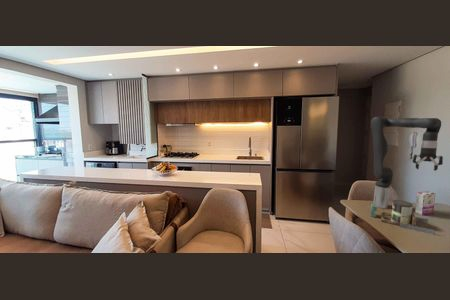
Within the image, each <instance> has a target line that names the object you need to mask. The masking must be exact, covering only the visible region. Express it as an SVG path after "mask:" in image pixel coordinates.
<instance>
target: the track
mask: <svg viewBox="0 0 450 300" xmlns="http://www.w3.org/2000/svg"><path fill="white" fill-rule="evenodd" d="M415 217H416V222H417V221H418V222H421V223H428V222H429V221H428V220H429V219H428V218H424V217H420V216H419V217H418V216H415ZM399 227H400V228H404V229H408V230H413V231H417V232H422V233H426V234H430V235H435V234H436V230H434V229H432V228H431V229H430V228H426V227H421V226H417V225H416V226H412V225H411V224H410V225H408V224H403V223H400V225H399Z"/></svg>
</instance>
